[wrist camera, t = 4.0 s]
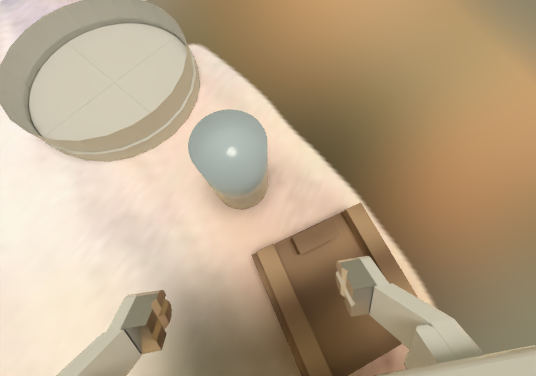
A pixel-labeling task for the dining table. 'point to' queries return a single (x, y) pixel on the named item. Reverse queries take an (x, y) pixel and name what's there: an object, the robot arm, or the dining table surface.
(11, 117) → the dish
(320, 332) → the chest
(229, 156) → the grey domed cylinder
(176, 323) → the dining table surface
